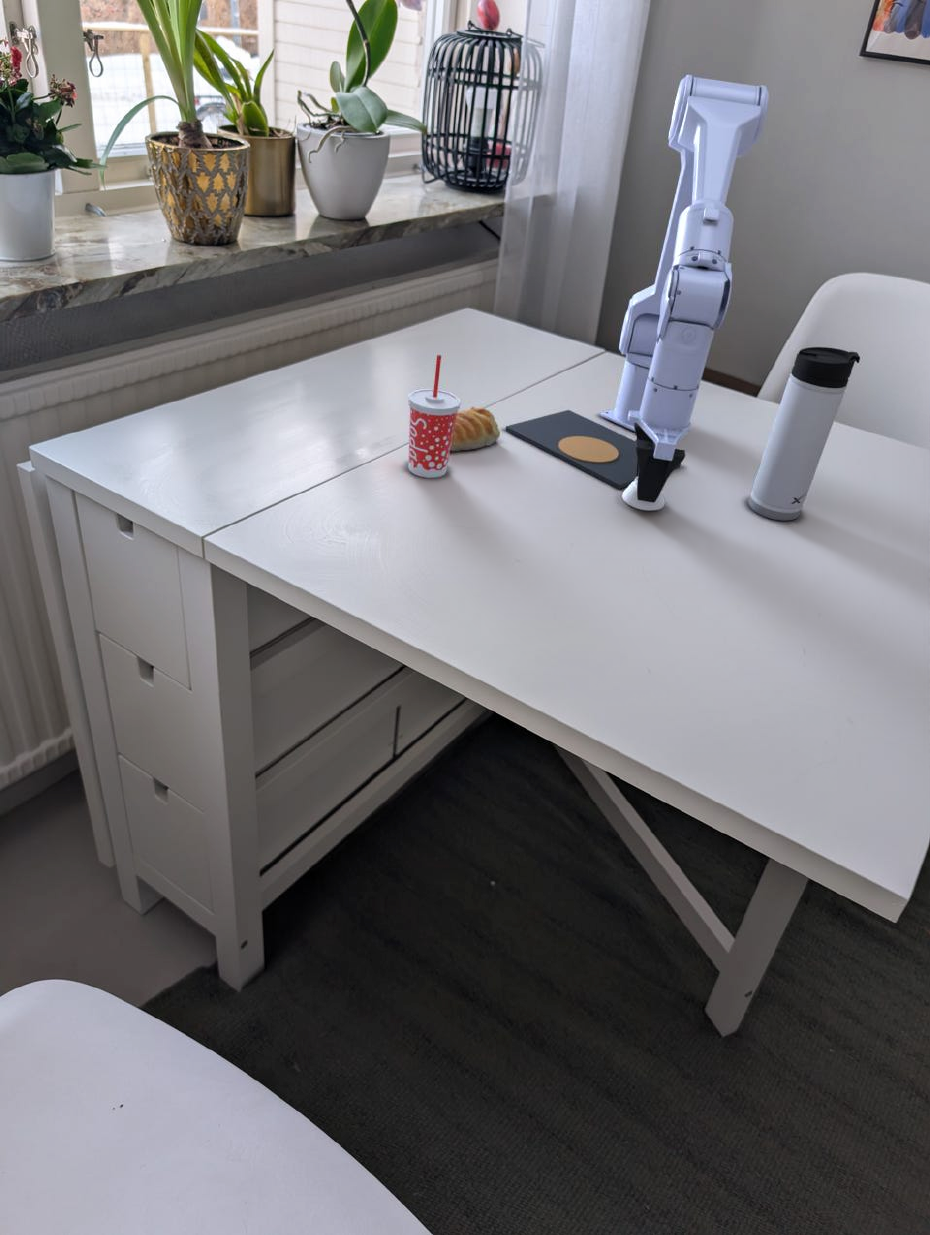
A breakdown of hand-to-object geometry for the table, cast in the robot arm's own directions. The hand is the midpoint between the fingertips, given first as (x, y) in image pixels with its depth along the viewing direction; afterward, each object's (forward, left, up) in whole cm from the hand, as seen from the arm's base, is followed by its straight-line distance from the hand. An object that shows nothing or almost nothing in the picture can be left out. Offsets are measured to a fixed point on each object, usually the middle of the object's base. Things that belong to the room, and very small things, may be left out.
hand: (645, 491), depth 107 cm
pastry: (+7, -24, -2) cm, 25 cm away
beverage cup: (+17, -20, -2) cm, 26 cm away
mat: (-7, -14, -2) cm, 16 cm away
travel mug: (-14, +10, -2) cm, 17 cm away
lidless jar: (0, 0, -2) cm, 2 cm away
